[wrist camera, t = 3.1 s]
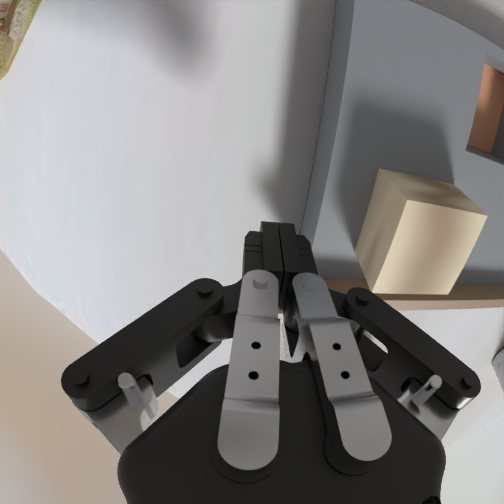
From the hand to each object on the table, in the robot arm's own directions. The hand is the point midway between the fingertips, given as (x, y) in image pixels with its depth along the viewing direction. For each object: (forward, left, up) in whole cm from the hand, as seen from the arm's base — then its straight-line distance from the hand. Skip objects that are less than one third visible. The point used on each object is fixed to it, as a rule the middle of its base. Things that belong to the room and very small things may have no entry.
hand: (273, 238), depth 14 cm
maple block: (-9, 0, -4) cm, 10 cm away
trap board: (-19, -3, -8) cm, 21 cm away
